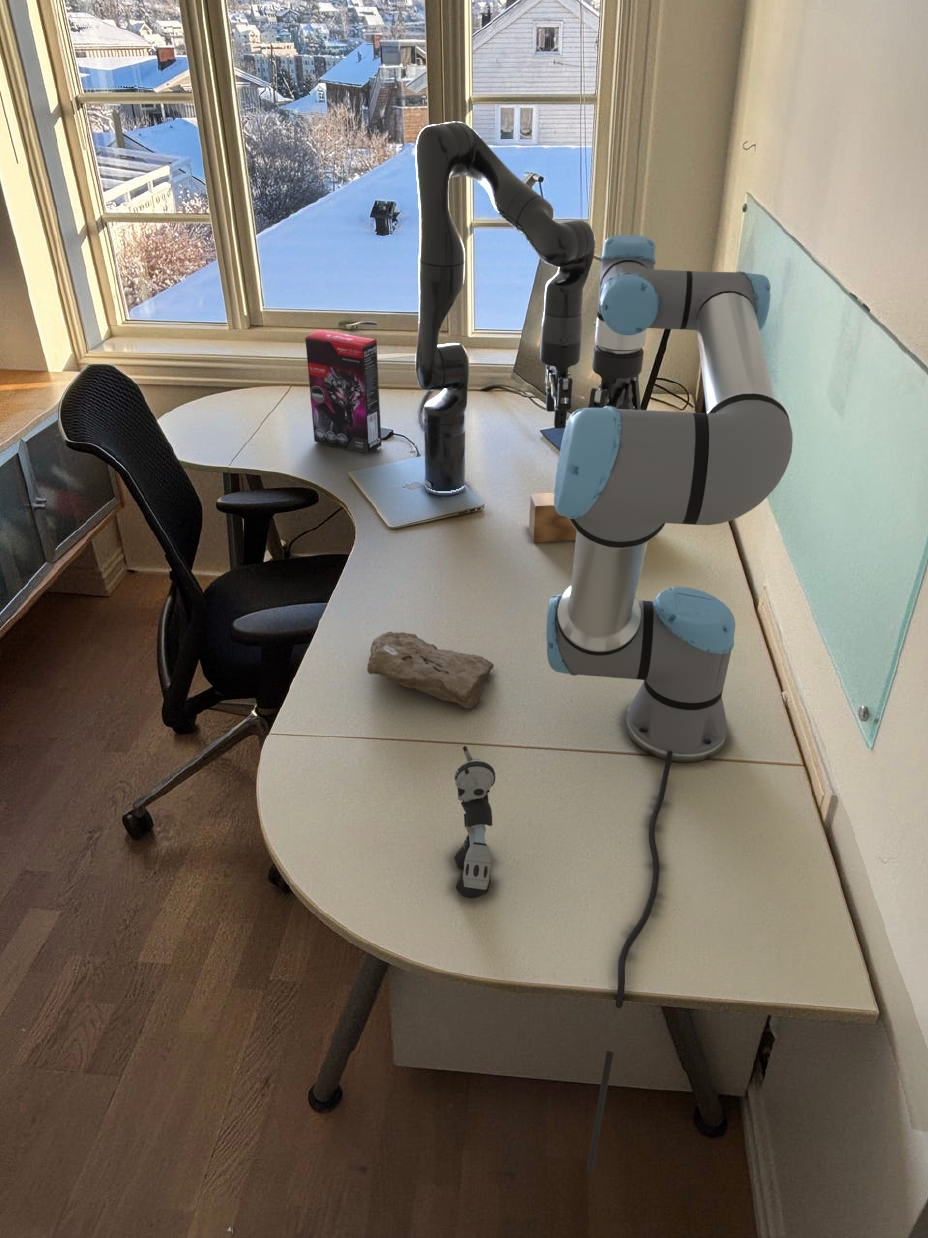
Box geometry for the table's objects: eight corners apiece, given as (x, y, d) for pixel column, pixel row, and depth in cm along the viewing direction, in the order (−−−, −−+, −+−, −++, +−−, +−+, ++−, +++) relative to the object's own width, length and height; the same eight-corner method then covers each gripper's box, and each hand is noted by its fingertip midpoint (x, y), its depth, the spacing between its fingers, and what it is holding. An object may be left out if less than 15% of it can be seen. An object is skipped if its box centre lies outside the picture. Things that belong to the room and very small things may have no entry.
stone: (342, 681, 147) (349, 648, 145) (376, 648, 161) (382, 617, 158) (465, 726, 144) (475, 692, 141) (489, 688, 157) (498, 657, 155)
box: (641, 524, 200) (645, 488, 195) (648, 536, 195) (653, 500, 190) (528, 529, 197) (530, 493, 193) (533, 542, 193) (535, 506, 188)
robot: (497, 935, 111) (502, 818, 100) (457, 937, 111) (458, 819, 100) (486, 816, 127) (489, 703, 116) (451, 817, 127) (451, 704, 116)
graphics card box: (312, 442, 234) (302, 335, 219) (327, 433, 240) (319, 327, 224) (368, 456, 228) (362, 346, 213) (383, 446, 233) (379, 338, 218)
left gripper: (534, 325, 177) (530, 406, 186) (548, 349, 166) (543, 433, 175) (573, 324, 178) (567, 405, 187) (589, 348, 166) (581, 432, 175)
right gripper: (627, 322, 149) (614, 444, 161) (561, 365, 131) (551, 499, 143) (671, 329, 146) (654, 453, 158) (609, 374, 128) (596, 511, 140)
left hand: (555, 419), depth 181 cm, fingers open, 8 cm apart
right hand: (605, 475), depth 151 cm, fingers open, 13 cm apart
